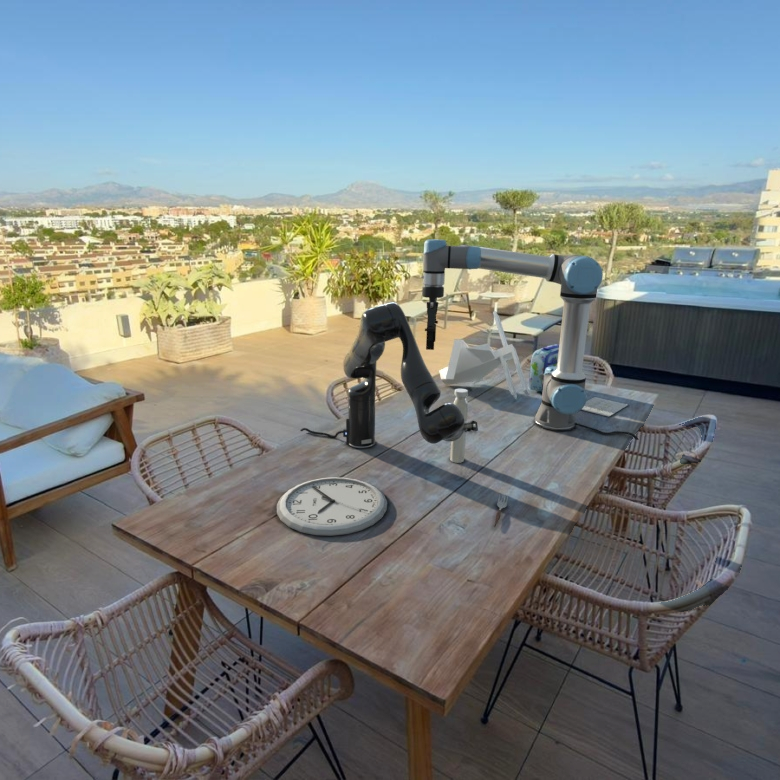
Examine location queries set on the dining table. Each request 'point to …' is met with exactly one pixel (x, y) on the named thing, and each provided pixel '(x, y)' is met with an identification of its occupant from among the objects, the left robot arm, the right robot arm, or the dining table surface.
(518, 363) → the white plastic object
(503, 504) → the fork
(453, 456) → the bottle
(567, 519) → the dining table surface
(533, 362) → the lunch box
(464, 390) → the cap
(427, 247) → the right robot arm
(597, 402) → the invitation card
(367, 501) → the wall clock
